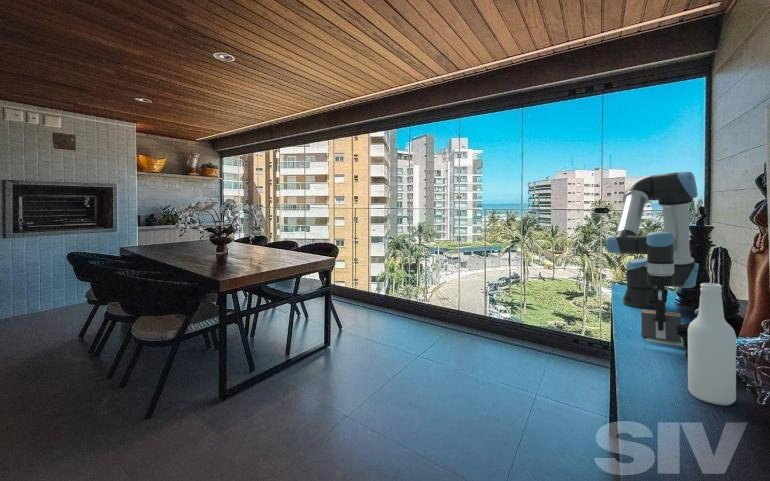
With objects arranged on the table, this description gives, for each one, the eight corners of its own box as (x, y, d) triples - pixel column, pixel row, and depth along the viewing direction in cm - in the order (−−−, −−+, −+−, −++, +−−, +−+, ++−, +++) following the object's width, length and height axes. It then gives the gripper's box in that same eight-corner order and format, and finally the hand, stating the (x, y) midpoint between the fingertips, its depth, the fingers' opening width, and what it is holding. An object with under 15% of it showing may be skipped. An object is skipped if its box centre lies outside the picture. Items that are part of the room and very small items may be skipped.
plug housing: (642, 331, 125) (642, 309, 125) (681, 337, 118) (680, 313, 117) (641, 335, 122) (641, 312, 121) (681, 341, 114) (681, 316, 114)
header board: (645, 327, 134) (645, 315, 133) (689, 333, 125) (689, 320, 124) (642, 343, 119) (641, 329, 119) (691, 351, 110) (691, 336, 110)
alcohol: (724, 390, 87) (724, 281, 85) (744, 409, 79) (744, 288, 77) (682, 385, 90) (681, 280, 88) (696, 402, 82) (696, 287, 80)
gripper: (648, 269, 127) (649, 326, 129) (645, 278, 114) (646, 341, 116) (674, 270, 122) (674, 330, 124) (673, 279, 109) (674, 346, 111)
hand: (661, 335), depth 120 cm, fingers closed on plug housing, 5 cm apart
